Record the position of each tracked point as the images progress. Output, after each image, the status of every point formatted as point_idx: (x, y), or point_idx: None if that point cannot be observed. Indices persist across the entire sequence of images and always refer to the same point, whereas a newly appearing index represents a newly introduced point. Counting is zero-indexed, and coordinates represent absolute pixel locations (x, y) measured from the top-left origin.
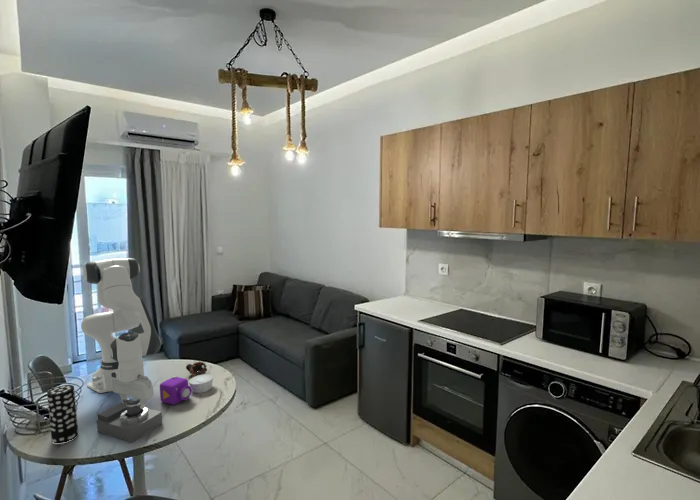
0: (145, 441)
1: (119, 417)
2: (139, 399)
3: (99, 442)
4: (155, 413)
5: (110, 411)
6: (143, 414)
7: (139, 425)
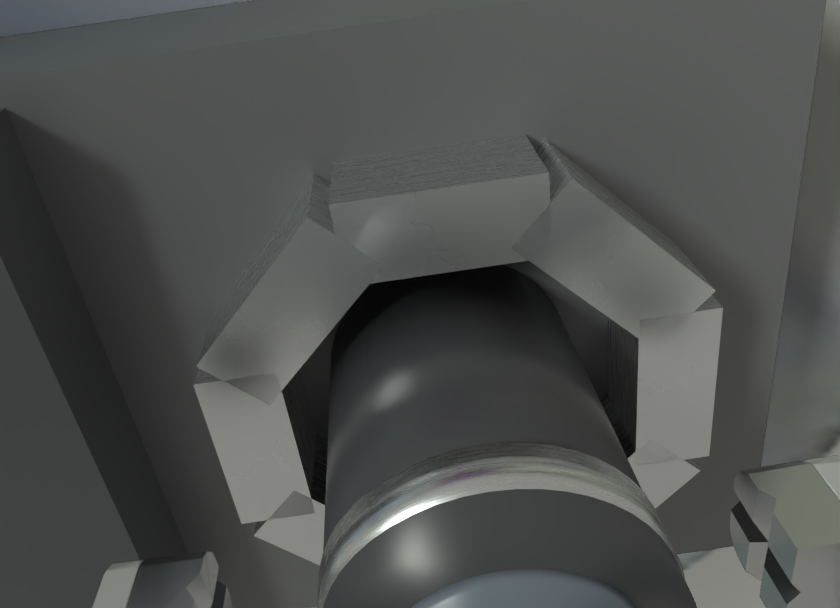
0: (827, 334)
1: (219, 485)
2: (610, 562)
3: None
4: (732, 75)
5: (7, 604)
6: (713, 365)
7: (762, 429)
